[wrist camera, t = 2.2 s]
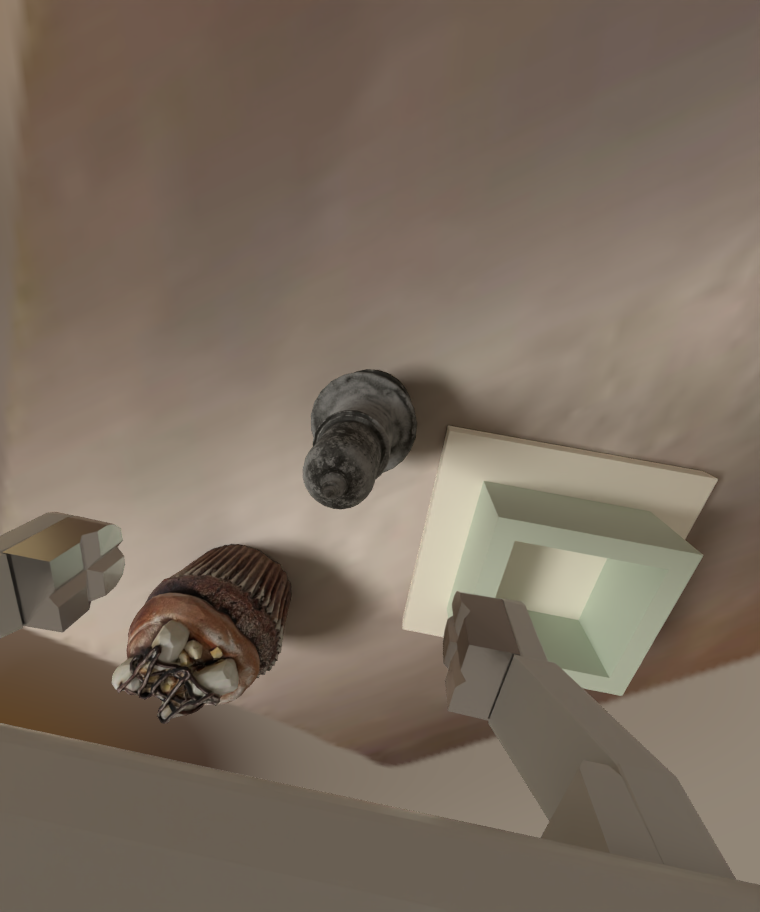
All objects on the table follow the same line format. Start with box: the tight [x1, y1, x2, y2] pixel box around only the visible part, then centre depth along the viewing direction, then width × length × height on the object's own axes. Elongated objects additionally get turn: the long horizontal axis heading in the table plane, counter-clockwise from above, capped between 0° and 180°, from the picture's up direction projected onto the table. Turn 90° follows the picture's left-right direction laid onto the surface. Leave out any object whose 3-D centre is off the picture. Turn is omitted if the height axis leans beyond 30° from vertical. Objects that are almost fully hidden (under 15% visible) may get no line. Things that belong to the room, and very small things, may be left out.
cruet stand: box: [402, 426, 718, 696], centre depth 23 cm, size 16×16×6 cm
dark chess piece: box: [303, 369, 417, 509], centre depth 18 cm, size 6×6×12 cm
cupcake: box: [112, 544, 291, 723], centre depth 25 cm, size 10×10×10 cm
